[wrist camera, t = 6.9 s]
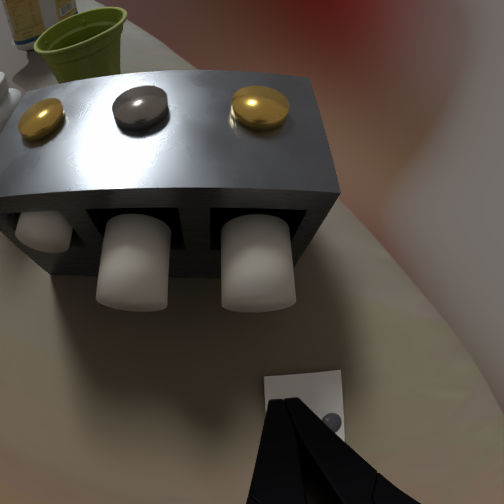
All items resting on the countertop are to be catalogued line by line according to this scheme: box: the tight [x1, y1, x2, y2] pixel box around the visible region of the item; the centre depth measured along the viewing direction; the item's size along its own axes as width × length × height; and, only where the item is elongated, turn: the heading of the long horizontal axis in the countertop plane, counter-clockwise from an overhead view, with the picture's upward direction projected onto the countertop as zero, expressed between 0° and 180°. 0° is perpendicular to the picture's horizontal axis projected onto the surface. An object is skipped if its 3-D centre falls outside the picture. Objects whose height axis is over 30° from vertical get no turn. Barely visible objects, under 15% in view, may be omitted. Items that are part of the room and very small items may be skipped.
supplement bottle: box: [0, 72, 23, 135], centre depth 18 cm, size 5×5×10 cm
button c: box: [15, 210, 73, 253], centre depth 14 cm, size 4×3×3 cm
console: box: [0, 70, 341, 278], centre depth 17 cm, size 8×17×11 cm, turn 93°
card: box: [263, 370, 345, 442], centre depth 17 cm, size 7×5×1 cm
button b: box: [96, 214, 171, 312], centre depth 13 cm, size 4×3×3 cm
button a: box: [221, 214, 296, 313], centre depth 14 cm, size 4×3×3 cm
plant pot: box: [34, 7, 127, 84], centre depth 23 cm, size 9×9×9 cm
